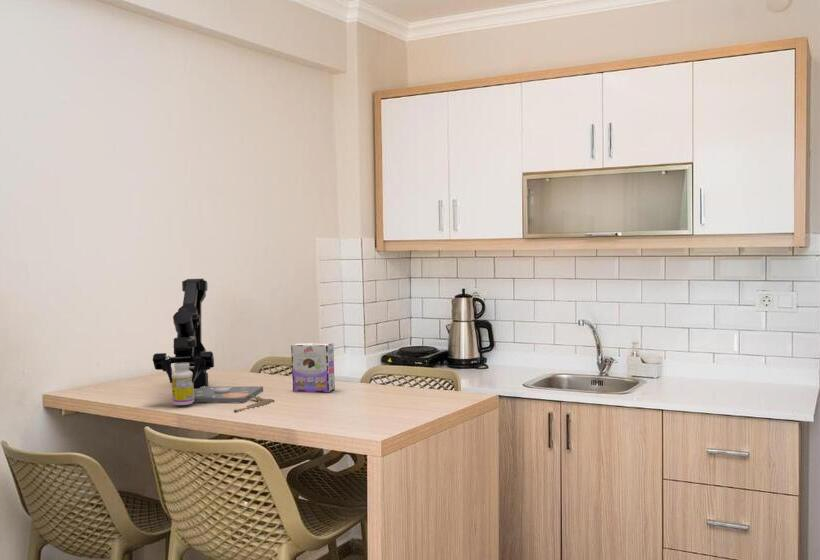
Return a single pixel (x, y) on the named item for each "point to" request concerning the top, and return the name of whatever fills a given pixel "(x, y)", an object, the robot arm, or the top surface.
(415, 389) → the top surface
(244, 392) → the dial board
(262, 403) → the brown flat branched piece
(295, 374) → the candy box
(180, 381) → the supplement bottle
